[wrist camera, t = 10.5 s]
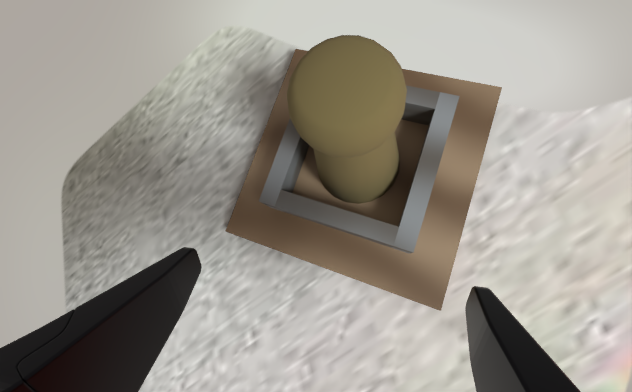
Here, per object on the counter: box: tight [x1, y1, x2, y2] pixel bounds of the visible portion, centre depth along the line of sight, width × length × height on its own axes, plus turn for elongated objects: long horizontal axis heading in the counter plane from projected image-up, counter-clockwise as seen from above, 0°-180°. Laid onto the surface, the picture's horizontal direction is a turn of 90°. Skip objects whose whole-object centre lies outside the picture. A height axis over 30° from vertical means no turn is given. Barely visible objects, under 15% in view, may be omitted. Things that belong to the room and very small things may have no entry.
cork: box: [287, 35, 407, 204], centre depth 17 cm, size 6×6×11 cm
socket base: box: [226, 49, 502, 311], centre depth 22 cm, size 16×16×4 cm
